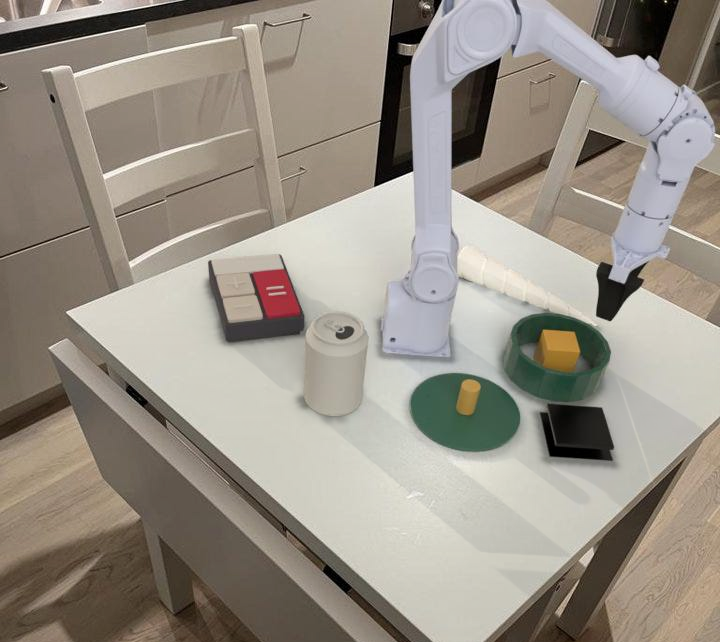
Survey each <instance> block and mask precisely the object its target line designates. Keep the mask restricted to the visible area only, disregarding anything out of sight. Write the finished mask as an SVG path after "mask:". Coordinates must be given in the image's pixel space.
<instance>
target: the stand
mask: <svg viewBox="0 0 720 642" xmlns="http://www.w3.org/2000/svg"><path fill="white" fill-rule="evenodd" d="M546 410H547V412H545V411H544V412H543V411H540V412H539V415H540V420H541V424H542V428H543V434H544V438H545V443H546V447H547V452H548V457H549V458H562V459H575V460H576V459H580V460H592V461H606V462H608V461H609V462H613V461H614V460H613V456H612V452H611V451H614V449H615V445H614V442H613V439H612V435H611V431H610V428H609V425H608V421H607V419H606V415H605V412H604V409H603V407H602V406H601V407H600V406H586V405H572V404H559V403H546Z"/></svg>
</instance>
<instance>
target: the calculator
mask: <svg viewBox="0 0 720 642" xmlns="http://www.w3.org/2000/svg"><path fill="white" fill-rule="evenodd" d="M207 268H208V281H209V285H210V289H211V293H212V295H213V298H214V301H215V304H216V309H217V312H218V316H219V319H220V323H221V326H222V330H223V334H224V337H225V341H226V342H228V343H233V342H241V341H248V340H249V341H250V340H257V339H266V338H275V337H284V336H291V335H292V336H293V335H299V334H301V332H303V331H304V330H305V314H304V311H303V309H302V306H301V303H300V300H299V298H298V296H297V292H296V290H295V287H294V285H293V281H292V279H291V277H290V274H289V270H288V269H287V266H286V263H285V261H284V258H283V256H282V254H280V253H271V254H259V255H249V256H238V257H227V258H226V257H225V258H216V259H215V258H214V259H210V260H208V261H207Z"/></svg>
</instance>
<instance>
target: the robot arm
mask: <svg viewBox="0 0 720 642" xmlns="http://www.w3.org/2000/svg"><path fill="white" fill-rule="evenodd" d="M509 49H510V50H511V57H512V59H518V58H521V57H525V56H528V55H532V54H535V53H539V54H542V55H544V56H545V57H547V58H548V59H550V60H552V62H554V63H556V64H557V65H559V66H560V67H562V68H564V69H565V70H567V71H568V72H570V73H571V74H573V75H575V76H576V77H578V78H579V79H581V80H583V81H584V82H586V83H587V84H589V85H590V86H592V88H594V89H597V103H598V104H597V105H598V108H600V109H601V110H602V111H603V112H605V113H606V114H608V115H610V116H611V117H612V118H613V119H615V120H617V121H618V122H619V123H620V124H622V125H624V126H625V127H627V128H628V129H629V130H631V131H632V132H633V133H634V134H636V135H638V136H639V137H640V138H642V139H643V140H647V141H649V142H648V145H647V148H646V151H645V153H644V156H643V158H642V161H641V163H640V164H639V167H638V170H637V173H636V175H635V178H634V181H633V183H632V186H631V189H630V192H629V194H628V196H627V200H626V202H625V205H624V207H623V210H622V212H621V215H620V217H619V221H618V224H617V225H616V228H615V230H614V232H612V235H611V237H610V248H611V254H612V255H611V256H612V261H613V262H612V263H613V264H609V263H607V262H605V261H601V262H600V263H599V265H598V266H597V269H596V272H595V277H596V281H597V286H598V287H597V288H598V292H597V293H598V294H597V302H596V307H595V308H596V309H595V317H597V318H599V319H602V320H604V321H608V322H612V321H613V320H614V319H615V317H616V316H617V315H618V313H619V312H620V310H621V308H622V307H623V305H624V304H625V303H626V301H627V300H628V299H629V298H630V297H631V295H633V294H634V293H635V292H637V291H638V290H639V289H640V288H641V287H642V285H643V283H644V282H645V279H644V278H641V277H639V275H640V274H641V272H642V271H643V269H644V268H645V267H646V265H648V263H649V262H650V261H651V260H654V259H655V258H659V259H663V260H665V259H666V258H667V257H668V256H669V253H670V251H671V248H670V247H669V246H667V245H664V244H663V242H664V240H665V238H666V235H667V232H668V230H669V229H670V226H671V223H672V221H673V219H674V216H675V215H676V212H677V210H678V208H679V205H680V203H681V201H682V199H683V196H684V194H685V191H686V189H687V187H688V184H689V182H690V180H691V177H692V174H693V172H694V169H695V167H696V165H697V164H699V163H700V162H702V161H703V160H705V159H706V158H707V157H708V156H709V155H710V153H711V152H712V151H713V149H714V147H715V146H716V142H714V140H715V136H716V126H715V122H714V119H713V118H712V115H711V114H710V112H709V111H708V108H707V107H706V105H705V103H704V102H703V100H702V99H701V98H700V97H699V96H698V95H697V92H696V91H695V90H693V89H691V88H690V87H689V86H687V85H686V84H682V85H681V86H678V85H677V84H676V83H675V82H673V81H672V80H671V79H669V78H668V77H667V76H665V75H664V74H663V73H661V72H660V71H658V70H659V69H660V64H659V62H658V61H657V60H656V59H655V58H653V57H652V56H651V55H647V57H645V59H643V58H642V57H640V56H639V55H637V54H631V55H626V56H621V57H616V56H615V55H614V54H612V53H611V52H610V51H608V50H607V49H606V47H603V45H602V44H600V43H599V42H598V41H596V40H595V39H594V38H593V37H591V36H590V35H589V34H588V33H587V32H586V31H584V30H583V29H582V28H581V27H579V26H578V25H577V24H576V23H574V21H572V20H571V19H570V18H568V17H567V16H566V15H565V14H564V13H563V12H561V11H560V10H559V9H558V8H556V7H555V6H554V5H553V4H552V3H550V2H549V1H548V0H441V3H440V4H439V6H438V9H437V11H436V13H435V15H434V17H433V18H432V20H431V22H430V24H429V26H428V28H427V30H426V31H425V33H424V35H423V37H422V39H421V40H420V43H419V44H418V46H417V48H416V49H415V51H414V54H413V56H412V58H411V63H410V71H409V72H410V73H409V84H410V85H409V91H410V114H411V115H410V117H411V118H410V119H411V142H412V143H411V144H412V145H411V146H412V168H413V196H414V198H413V199H414V222H415V223H414V224H415V225H414V227H415V228H414V229H415V230H414V235H413V238H412V239H411V257H410V269H409V270H408V272H407V273H405V275H404V277H403V278H401V279H396V280H388V281H387V284H386V291H385V299H384V304H383V305H384V306H383V315H382V317H381V319H380V331H381V332H382V352H383V353H388V354H402V355H412V356H413V355H414V356H428V357H429V356H430V357H441V358H449V357H451V355H452V354H451V346H450V336H449V330H450V326H451V320H452V315H453V311H454V306H455V302H456V296H457V291H458V287H459V282H460V281H459V280H460V279H459V277H458V273H457V258H458V255H459V250H460V242H459V238H458V235H457V234H456V233H455V230H454V228H453V221H452V220H453V219H452V216H453V215H452V213H453V212H452V175H453V173H452V170H453V169H452V167H453V166H452V163H453V162H452V161H453V159H452V157H453V156H452V151H453V150H452V141H453V139H452V135H453V133H452V132H453V131H452V126H453V125H452V122H453V120H452V119H453V118H452V117H453V114H452V113H453V111H452V110H453V105H452V104H453V103H452V102H453V101H452V100H453V98H452V97H453V96H452V94H453V89H454V88H455V87H456V86H457V85H458V84H459V83H460V82H461V81H462V80H464V78H466V76H468V74H470V73H472V72H474V71H477V70H478V69H481V68H483V67H485V66H488V65H490V64H492V63H494V62H495V61H496V60H498V59H500V58H502V57H503V56H504V55H505V54H506V53H507V52H508V51H509Z"/></svg>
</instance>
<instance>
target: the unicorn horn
mask: <svg viewBox="0 0 720 642" xmlns="http://www.w3.org/2000/svg"><path fill="white" fill-rule="evenodd" d="M457 273H458V278H461V279H464V280H466V281H468V282H471V283H474V284H477V285H480V286H482V287H483V286H484V287H486V288H487V289H489V290H492V291H495V292H498V293H500V294H505V295H506V296H508V297H511V298H512V299H513V298H514V299H516V300H518V301H521V302H523V303H525V302H527V304H529V305H532V306H535V307H537V308H540V309H543V310H546V311H547V310H548V311H549V312H550V313H556V314H562V315H566V316H570V317H574V318H577V319H579V320H581V321H583V322H585V323H587V324H589V325H591V326H593V327H598V324H597V323H596V322H595V321H593V320H592V319H591V318H590V317H588V316H586V315H585V314H584V313H582V312H580V311H579V310H577V308H575V307H573V306H571V305H570V304H567V303H566V302H565V301H563V300H562V299H560V298H559V297H557V296H556V295H554V294H552V293H551V292H549V291H546V289H545V288H542V287H541V286H539V285H538V284H536V283H534V282H532V281H531V280H529V279H527V280H526V277H524V276H523V275H521V274H519V273H518V272H516V271H514V270H513V269H511V268H507V267H506V265H504V264H502V263H501V262H499V261H497V260H496V259H494V258H492V257H490V256H488V257H487V254H485V253H484V252H482V251H480V249H477V248H476V247H474V246H472V245H470V244H469V245H465V246H464V247H462V248H461V250H460V251H459V252H458V258H457Z"/></svg>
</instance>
